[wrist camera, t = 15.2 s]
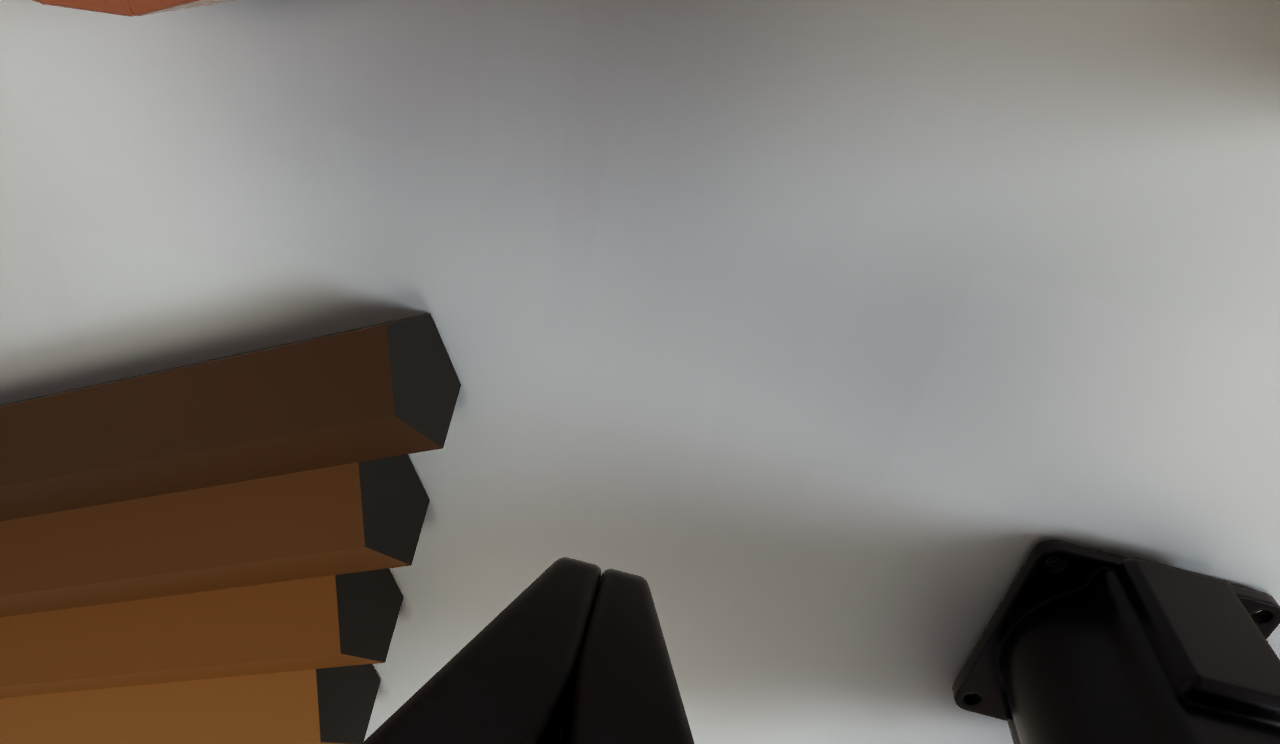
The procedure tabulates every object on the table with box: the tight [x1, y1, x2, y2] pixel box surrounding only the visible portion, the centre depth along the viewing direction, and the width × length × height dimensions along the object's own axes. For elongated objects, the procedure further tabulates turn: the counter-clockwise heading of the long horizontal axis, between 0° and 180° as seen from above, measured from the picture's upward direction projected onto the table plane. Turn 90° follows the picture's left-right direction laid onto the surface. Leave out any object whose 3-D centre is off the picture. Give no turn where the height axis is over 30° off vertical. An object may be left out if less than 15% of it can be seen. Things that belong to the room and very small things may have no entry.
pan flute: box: [0, 313, 461, 744], centre depth 29 cm, size 25×3×25 cm
